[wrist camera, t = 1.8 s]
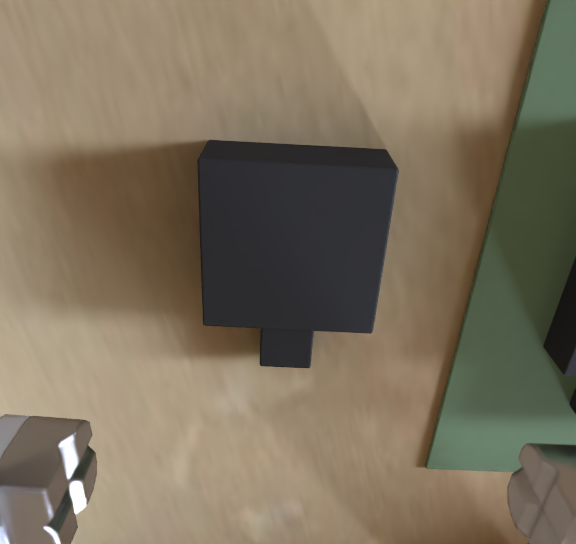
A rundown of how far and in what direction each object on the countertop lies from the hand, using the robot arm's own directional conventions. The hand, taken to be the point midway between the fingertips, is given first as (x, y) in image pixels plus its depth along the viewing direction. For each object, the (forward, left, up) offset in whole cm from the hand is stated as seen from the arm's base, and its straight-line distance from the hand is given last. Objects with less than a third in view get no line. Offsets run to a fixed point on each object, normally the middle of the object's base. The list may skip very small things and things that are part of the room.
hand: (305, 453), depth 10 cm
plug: (+1, 0, -11) cm, 11 cm away
